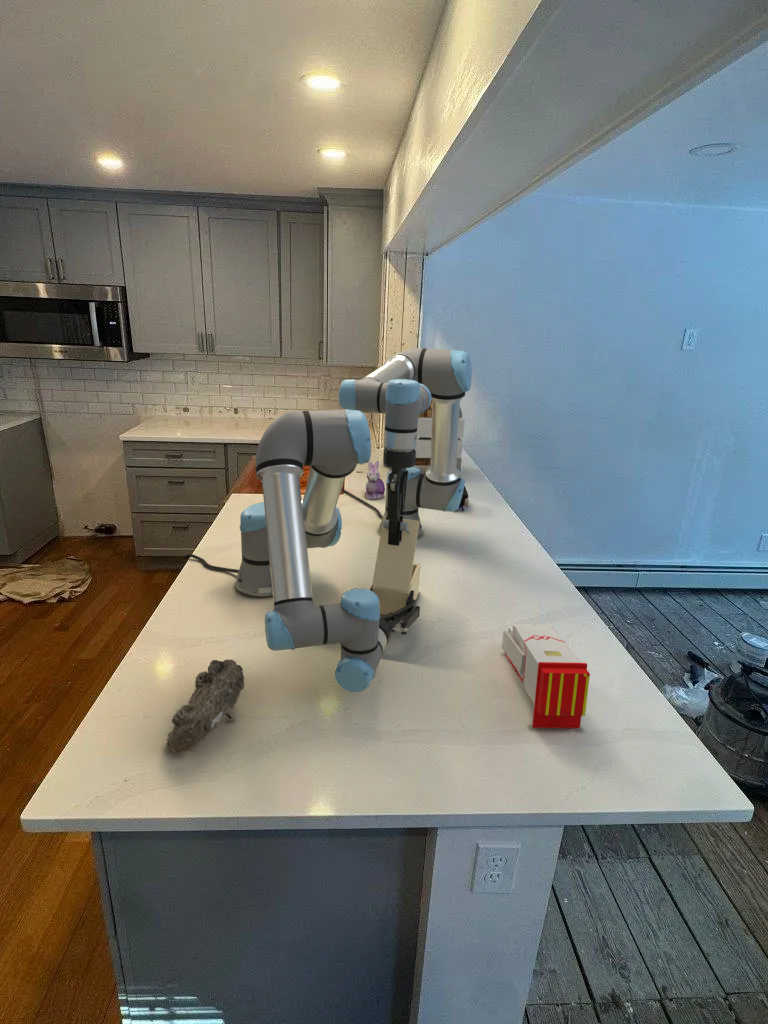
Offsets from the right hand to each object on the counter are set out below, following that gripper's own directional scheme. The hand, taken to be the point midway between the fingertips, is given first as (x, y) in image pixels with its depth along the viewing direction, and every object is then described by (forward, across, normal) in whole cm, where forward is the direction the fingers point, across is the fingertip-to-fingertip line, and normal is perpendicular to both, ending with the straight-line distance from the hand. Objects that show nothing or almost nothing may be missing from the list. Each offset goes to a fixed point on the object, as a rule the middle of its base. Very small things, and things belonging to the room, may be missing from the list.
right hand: (394, 542), depth 139 cm
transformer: (+20, +137, +16) cm, 139 cm away
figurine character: (+21, +93, -8) cm, 96 cm away
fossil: (+21, -46, +25) cm, 57 cm away
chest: (+21, +7, 0) cm, 22 cm away
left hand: (+14, +1, 0) cm, 14 cm away
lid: (+4, +3, 0) cm, 5 cm away
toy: (+21, -18, -36) cm, 46 cm away
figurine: (+21, +94, +28) cm, 100 cm away
